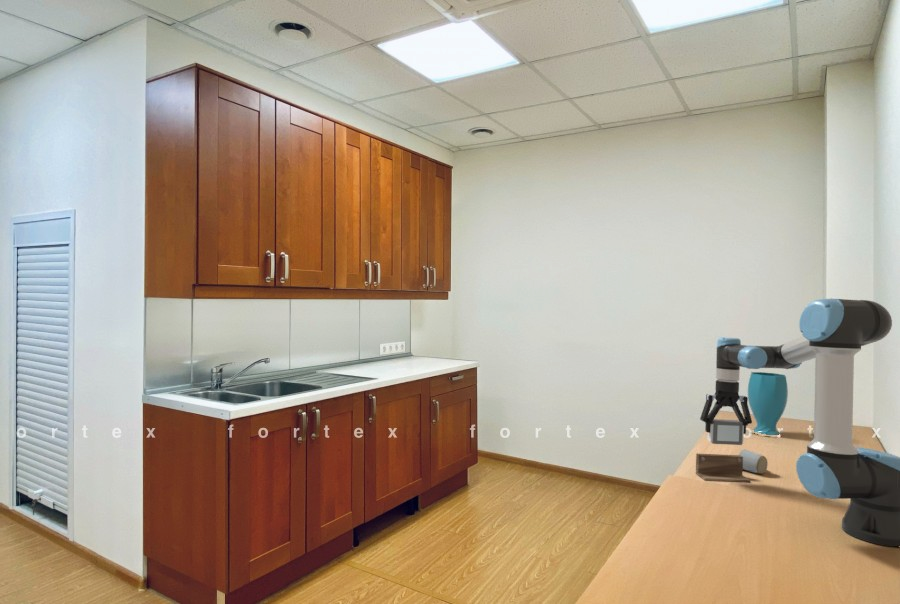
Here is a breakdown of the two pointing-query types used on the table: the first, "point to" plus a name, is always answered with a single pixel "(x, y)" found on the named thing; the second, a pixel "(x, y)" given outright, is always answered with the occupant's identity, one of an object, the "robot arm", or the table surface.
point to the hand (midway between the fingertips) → (725, 442)
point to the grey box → (727, 432)
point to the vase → (767, 400)
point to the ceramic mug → (753, 461)
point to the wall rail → (720, 467)
